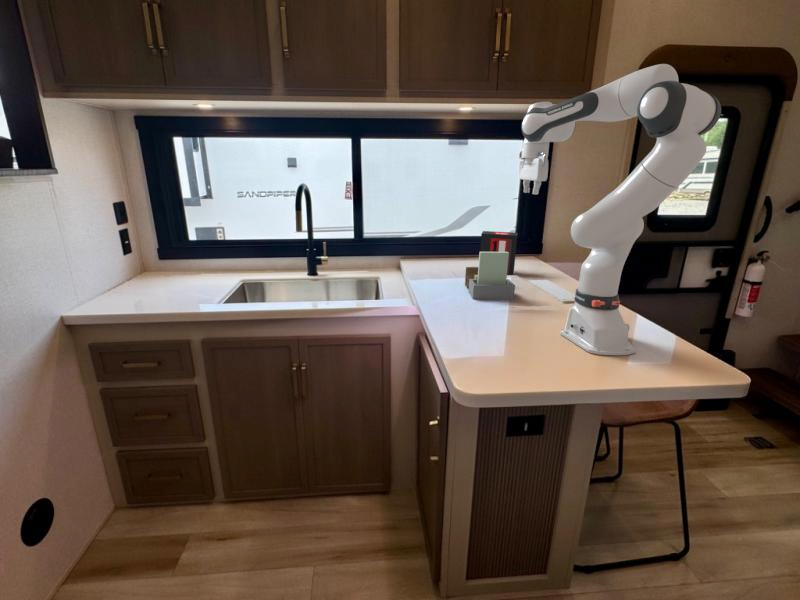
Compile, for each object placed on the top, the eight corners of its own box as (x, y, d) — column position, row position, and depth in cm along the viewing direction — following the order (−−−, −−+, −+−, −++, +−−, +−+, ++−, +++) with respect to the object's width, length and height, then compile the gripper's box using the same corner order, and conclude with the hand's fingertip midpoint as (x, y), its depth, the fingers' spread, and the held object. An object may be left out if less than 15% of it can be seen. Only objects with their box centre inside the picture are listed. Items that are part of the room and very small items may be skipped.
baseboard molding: (552, 282, 191) (527, 283, 189) (553, 276, 190) (528, 277, 189) (591, 303, 162) (562, 304, 160) (592, 296, 161) (563, 297, 159)
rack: (505, 295, 169) (507, 272, 166) (468, 295, 169) (470, 272, 166) (498, 288, 179) (500, 266, 176) (464, 288, 178) (465, 266, 176)
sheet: (504, 297, 163) (508, 252, 157) (477, 297, 163) (480, 252, 157) (503, 296, 165) (507, 251, 159) (476, 296, 164) (479, 251, 159)
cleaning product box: (478, 274, 202) (481, 233, 196) (480, 270, 210) (483, 231, 204) (513, 277, 198) (517, 235, 191) (513, 272, 206) (517, 232, 200)
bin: (513, 302, 160) (515, 285, 158) (472, 302, 159) (473, 285, 157) (507, 295, 168) (508, 279, 166) (468, 295, 168) (469, 279, 166)
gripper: (555, 152, 135) (550, 195, 139) (534, 154, 155) (530, 191, 159) (536, 152, 135) (531, 195, 139) (517, 153, 154) (514, 191, 159)
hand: (530, 193), depth 149 cm, fingers open, 8 cm apart
